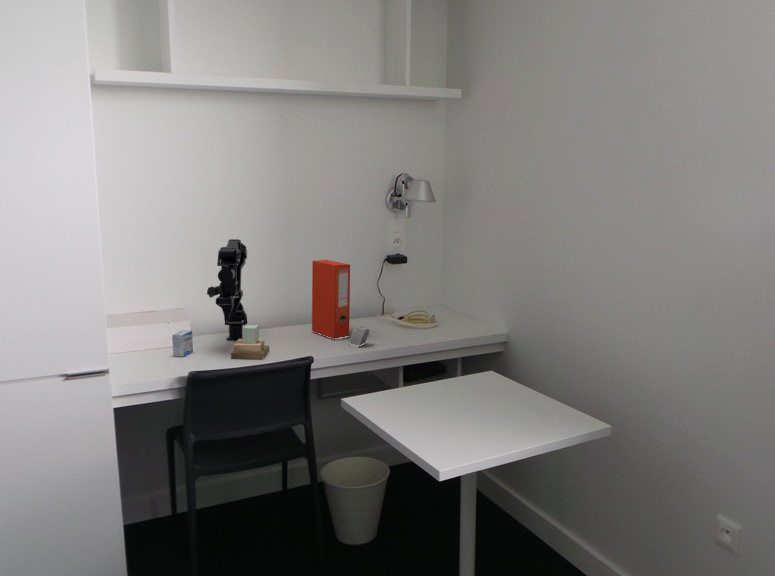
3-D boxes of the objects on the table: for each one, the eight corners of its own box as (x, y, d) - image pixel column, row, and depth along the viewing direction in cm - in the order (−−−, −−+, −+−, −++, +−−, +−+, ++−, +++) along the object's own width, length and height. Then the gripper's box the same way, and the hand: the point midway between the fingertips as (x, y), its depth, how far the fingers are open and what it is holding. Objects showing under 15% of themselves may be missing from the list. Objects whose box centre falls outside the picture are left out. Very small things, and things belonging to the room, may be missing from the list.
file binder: (327, 330, 309) (327, 259, 304) (349, 337, 296) (350, 264, 290) (311, 332, 304) (311, 260, 299) (334, 340, 291) (334, 265, 285)
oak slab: (238, 346, 271) (238, 338, 270) (264, 346, 271) (264, 338, 270) (233, 352, 261) (233, 345, 260) (260, 353, 261) (260, 345, 261)
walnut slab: (239, 352, 273) (238, 345, 272) (269, 353, 272) (268, 345, 272) (231, 360, 261) (230, 353, 260) (262, 361, 260) (262, 354, 260)
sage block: (245, 340, 268) (245, 325, 267) (258, 340, 268) (258, 325, 267) (242, 343, 263) (242, 328, 262) (255, 343, 263) (255, 328, 262)
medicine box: (183, 357, 262) (182, 335, 261) (172, 356, 263) (171, 334, 261) (193, 351, 270) (192, 330, 268) (182, 351, 271) (182, 329, 269)
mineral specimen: (365, 347, 278) (361, 328, 277) (348, 348, 283) (344, 329, 282) (375, 343, 284) (371, 324, 283) (358, 344, 289) (354, 325, 288)
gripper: (215, 275, 280) (216, 312, 283) (201, 282, 262) (203, 322, 264) (242, 275, 280) (243, 313, 282) (230, 283, 261) (231, 323, 264)
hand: (230, 317), depth 273 cm, fingers open, 9 cm apart
